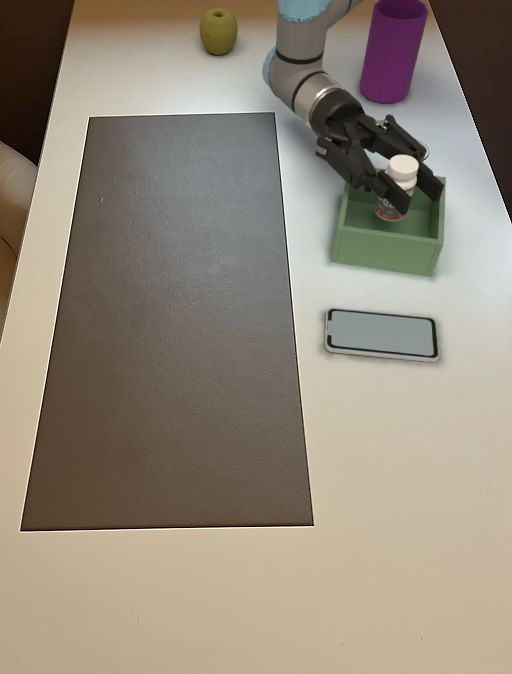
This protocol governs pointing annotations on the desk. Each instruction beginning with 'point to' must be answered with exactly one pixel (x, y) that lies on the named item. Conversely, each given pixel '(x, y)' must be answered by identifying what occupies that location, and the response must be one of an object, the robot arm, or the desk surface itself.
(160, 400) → the desk surface
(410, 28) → the mug
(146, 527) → the desk surface
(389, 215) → the pill bottle
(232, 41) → the apple
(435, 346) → the smartphone
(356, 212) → the open storage box
